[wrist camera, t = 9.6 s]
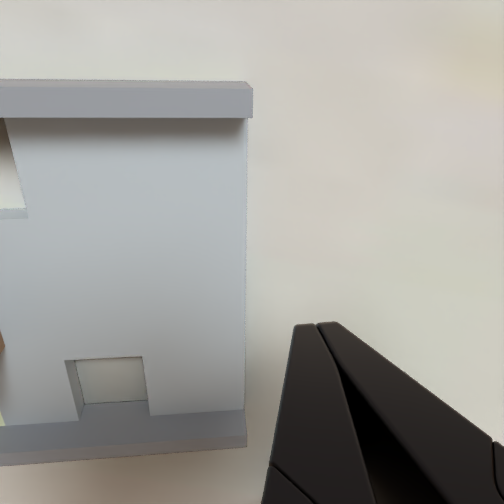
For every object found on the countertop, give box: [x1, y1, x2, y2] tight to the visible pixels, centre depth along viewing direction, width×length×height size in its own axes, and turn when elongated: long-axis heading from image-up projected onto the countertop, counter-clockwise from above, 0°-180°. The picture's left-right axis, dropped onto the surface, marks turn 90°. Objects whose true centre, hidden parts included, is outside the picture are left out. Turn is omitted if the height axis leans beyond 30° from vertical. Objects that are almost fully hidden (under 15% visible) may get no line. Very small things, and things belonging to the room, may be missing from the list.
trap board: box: [0, 79, 253, 466], centre depth 19 cm, size 22×19×3 cm
